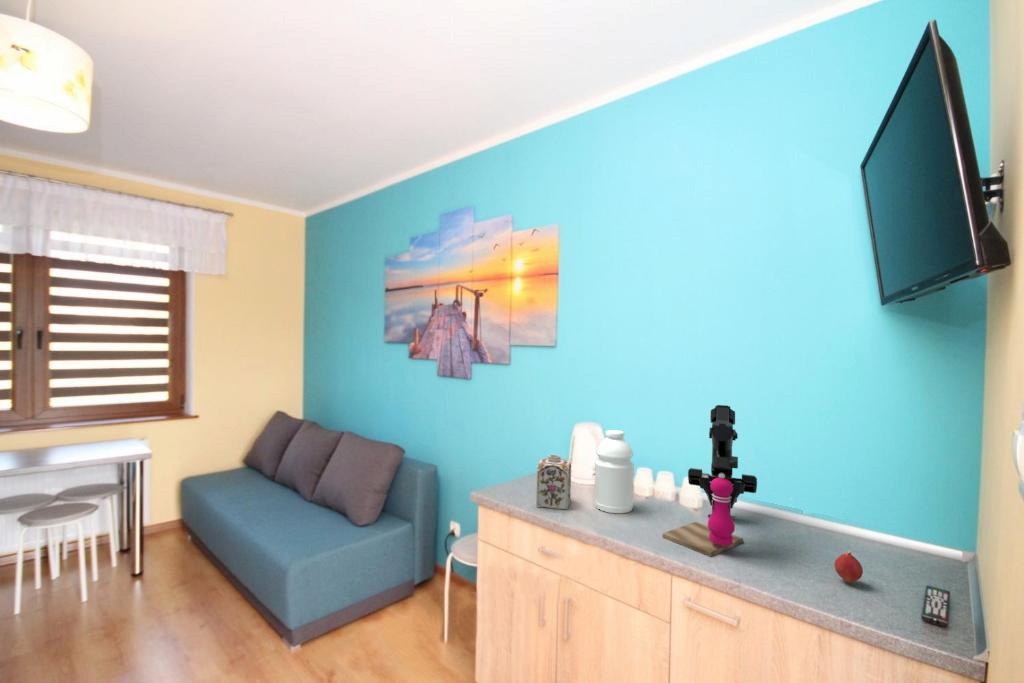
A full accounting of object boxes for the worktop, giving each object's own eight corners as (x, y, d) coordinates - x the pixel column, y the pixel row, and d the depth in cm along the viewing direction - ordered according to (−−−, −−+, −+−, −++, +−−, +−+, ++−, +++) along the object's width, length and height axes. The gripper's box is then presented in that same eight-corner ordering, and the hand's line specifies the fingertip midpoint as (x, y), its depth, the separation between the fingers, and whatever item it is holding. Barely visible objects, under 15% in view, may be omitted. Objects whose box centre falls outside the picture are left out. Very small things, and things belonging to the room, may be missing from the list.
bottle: (638, 505, 172) (639, 430, 173) (626, 517, 161) (627, 436, 161) (602, 498, 180) (603, 426, 180) (588, 508, 168) (589, 431, 169)
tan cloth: (695, 525, 154) (695, 521, 154) (743, 542, 141) (743, 538, 141) (662, 537, 144) (662, 533, 144) (710, 556, 131) (710, 552, 131)
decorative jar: (535, 507, 169) (536, 458, 169) (540, 497, 180) (541, 451, 180) (568, 510, 166) (569, 460, 166) (571, 500, 177) (572, 453, 178)
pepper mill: (737, 540, 136) (738, 472, 136) (730, 549, 130) (731, 478, 130) (711, 533, 140) (712, 468, 140) (704, 541, 135) (705, 473, 135)
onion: (828, 577, 120) (829, 546, 120) (849, 576, 121) (849, 546, 121) (846, 589, 114) (847, 556, 114) (868, 588, 115) (868, 556, 115)
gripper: (688, 441, 143) (685, 487, 133) (757, 448, 135) (759, 497, 125) (690, 461, 150) (687, 506, 140) (755, 468, 142) (756, 516, 132)
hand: (721, 506), depth 134 cm, fingers closed on pepper mill, 5 cm apart
